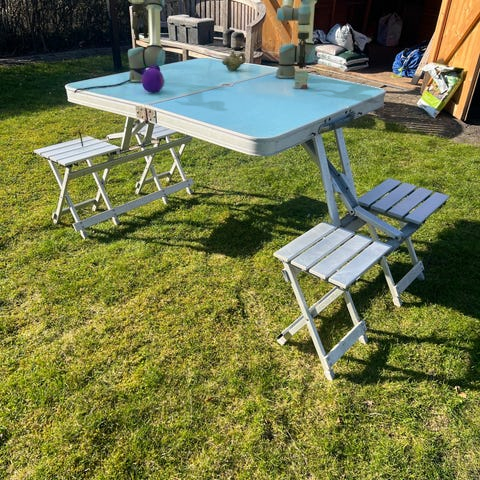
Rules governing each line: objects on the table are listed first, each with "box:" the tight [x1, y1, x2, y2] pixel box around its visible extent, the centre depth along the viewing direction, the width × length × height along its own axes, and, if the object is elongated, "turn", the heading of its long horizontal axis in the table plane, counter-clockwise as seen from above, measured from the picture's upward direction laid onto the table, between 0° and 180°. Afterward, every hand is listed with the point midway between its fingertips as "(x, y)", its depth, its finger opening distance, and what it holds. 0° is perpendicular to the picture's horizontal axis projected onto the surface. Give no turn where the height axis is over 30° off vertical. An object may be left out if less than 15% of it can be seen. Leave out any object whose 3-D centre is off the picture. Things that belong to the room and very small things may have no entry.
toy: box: [134, 65, 165, 94], centre depth 304 cm, size 16×18×27 cm
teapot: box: [221, 50, 246, 72], centre depth 367 cm, size 21×12×15 cm, turn 120°
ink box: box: [293, 69, 309, 90], centre depth 306 cm, size 9×5×12 cm, turn 79°
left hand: (141, 39), depth 296 cm, fingers open, 13 cm apart
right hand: (301, 66), depth 301 cm, fingers open, 13 cm apart
